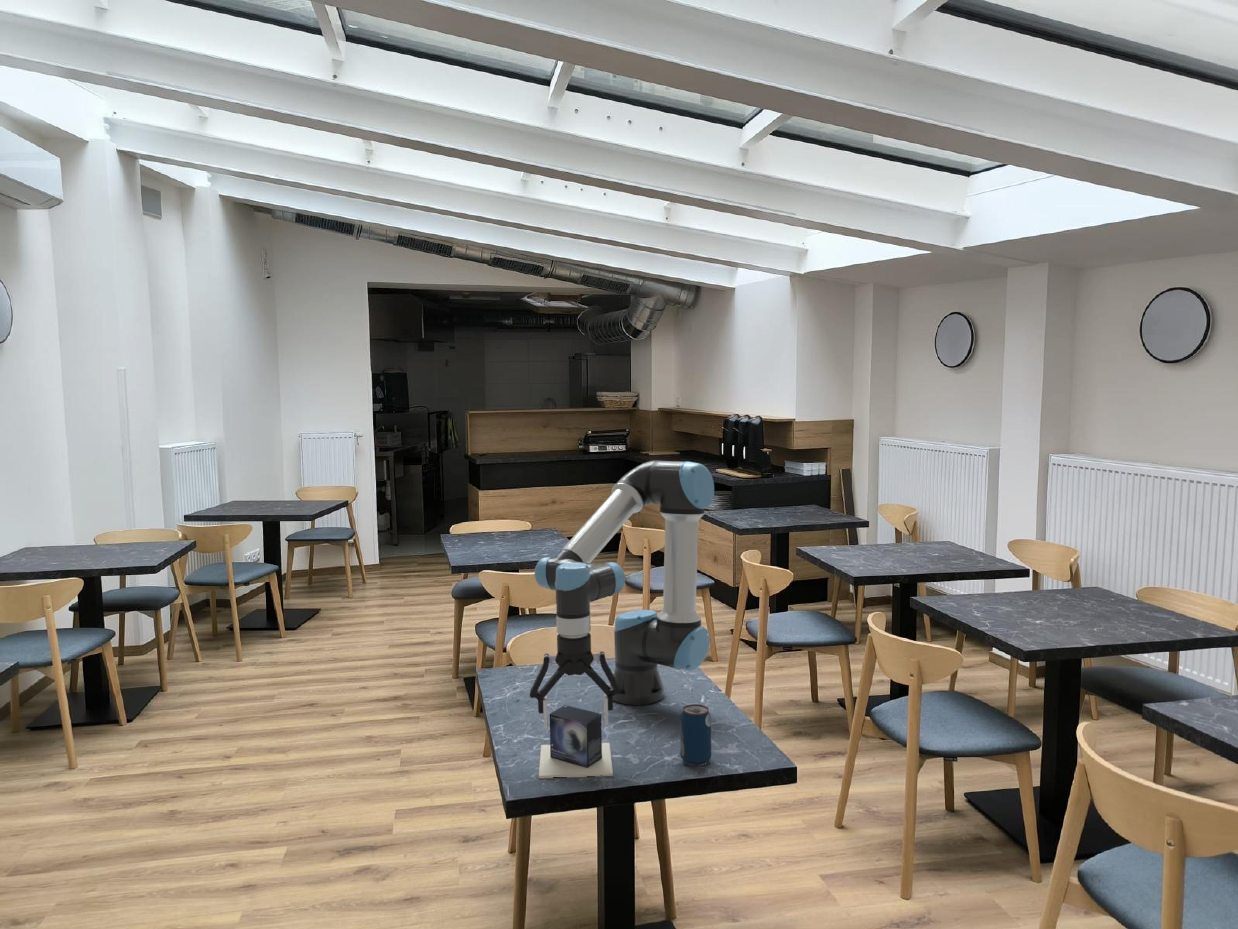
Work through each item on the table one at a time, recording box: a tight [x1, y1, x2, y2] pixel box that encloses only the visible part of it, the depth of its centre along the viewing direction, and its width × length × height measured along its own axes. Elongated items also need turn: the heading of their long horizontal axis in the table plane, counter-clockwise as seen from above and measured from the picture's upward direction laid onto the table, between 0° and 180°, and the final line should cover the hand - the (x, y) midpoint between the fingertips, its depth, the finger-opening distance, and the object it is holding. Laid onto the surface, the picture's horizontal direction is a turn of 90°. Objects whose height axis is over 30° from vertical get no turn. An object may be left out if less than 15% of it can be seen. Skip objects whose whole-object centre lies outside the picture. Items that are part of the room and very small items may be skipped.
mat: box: [538, 742, 614, 779], centre depth 189 cm, size 16×16×1 cm
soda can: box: [679, 704, 712, 766], centre depth 188 cm, size 7×7×12 cm
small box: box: [549, 704, 603, 768], centre depth 188 cm, size 11×6×10 cm, turn 58°
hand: (576, 725), depth 188 cm, fingers open, 13 cm apart
